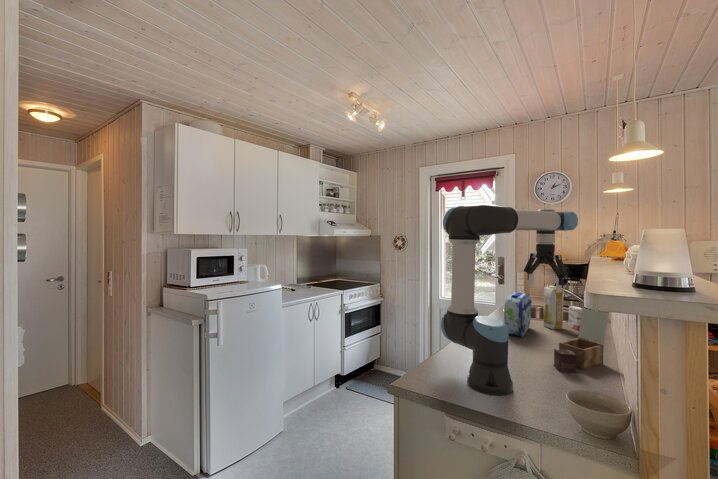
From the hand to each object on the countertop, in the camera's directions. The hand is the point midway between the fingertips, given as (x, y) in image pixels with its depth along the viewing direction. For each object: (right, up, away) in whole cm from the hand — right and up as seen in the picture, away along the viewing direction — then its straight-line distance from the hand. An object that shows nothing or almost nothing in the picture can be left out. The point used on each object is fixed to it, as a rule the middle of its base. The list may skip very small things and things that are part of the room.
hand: (544, 290), depth 153 cm
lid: (+16, -14, -9) cm, 23 cm away
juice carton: (+26, -28, +39) cm, 54 cm away
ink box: (+39, -28, +38) cm, 61 cm away
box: (-3, -29, -20) cm, 35 cm away
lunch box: (+2, -28, +31) cm, 41 cm away
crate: (+8, -29, -13) cm, 32 cm away
